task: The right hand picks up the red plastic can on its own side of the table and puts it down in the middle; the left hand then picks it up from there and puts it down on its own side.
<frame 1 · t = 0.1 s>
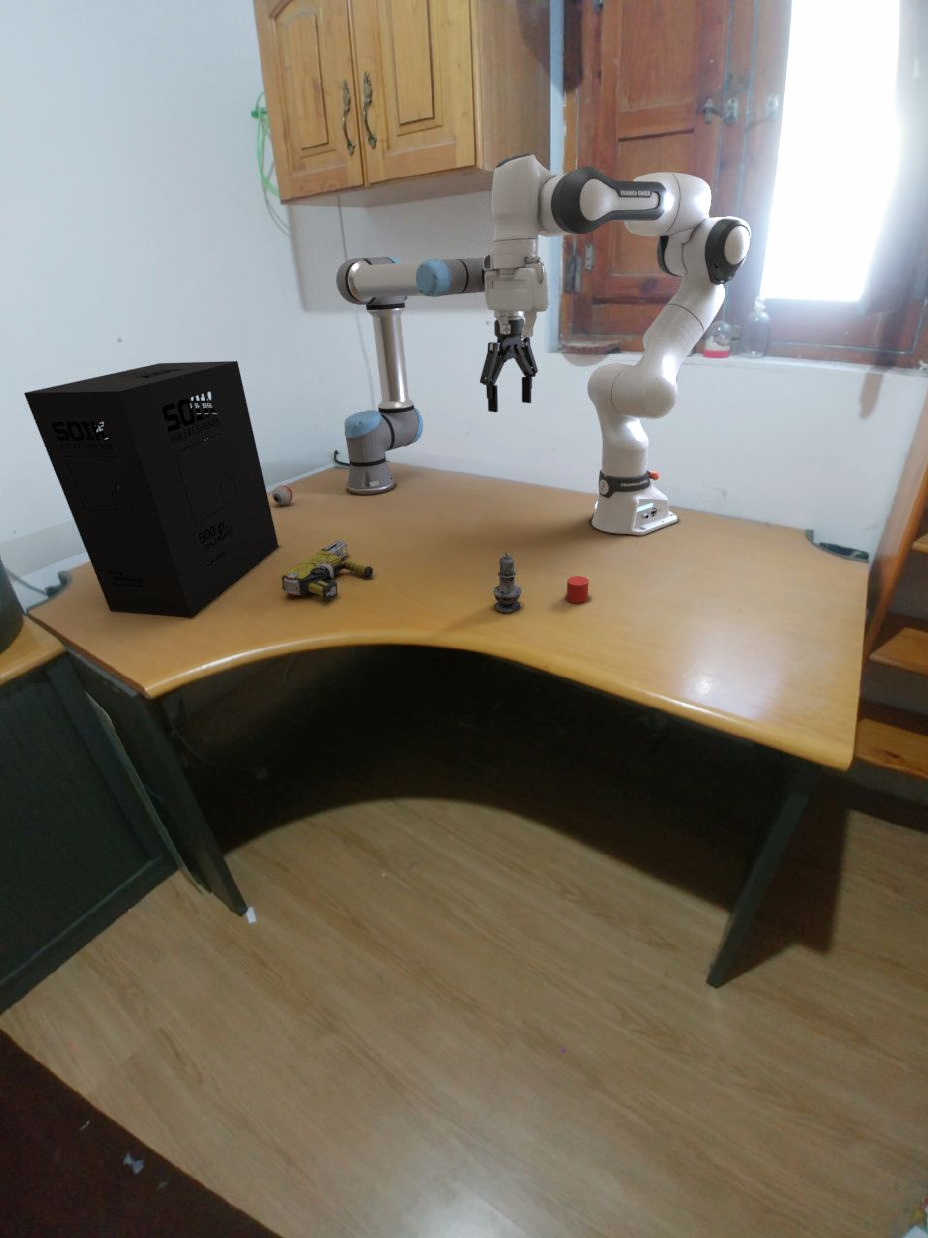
left hand: (510, 407, 161), 28 cm above the table, tool pointing down, fingers open, 13 cm apart
right hand: (516, 335, 125), 48 cm above the table, tool pointing down, fingers open, 8 cm apart
eyeball: (284, 505, 187), on the table
dark grey tapered piece: (507, 607, 124), on the table
cardboard box: (202, 576, 144), on the table
can: (577, 598, 125), on the table
toy gun: (338, 579, 139), on the table
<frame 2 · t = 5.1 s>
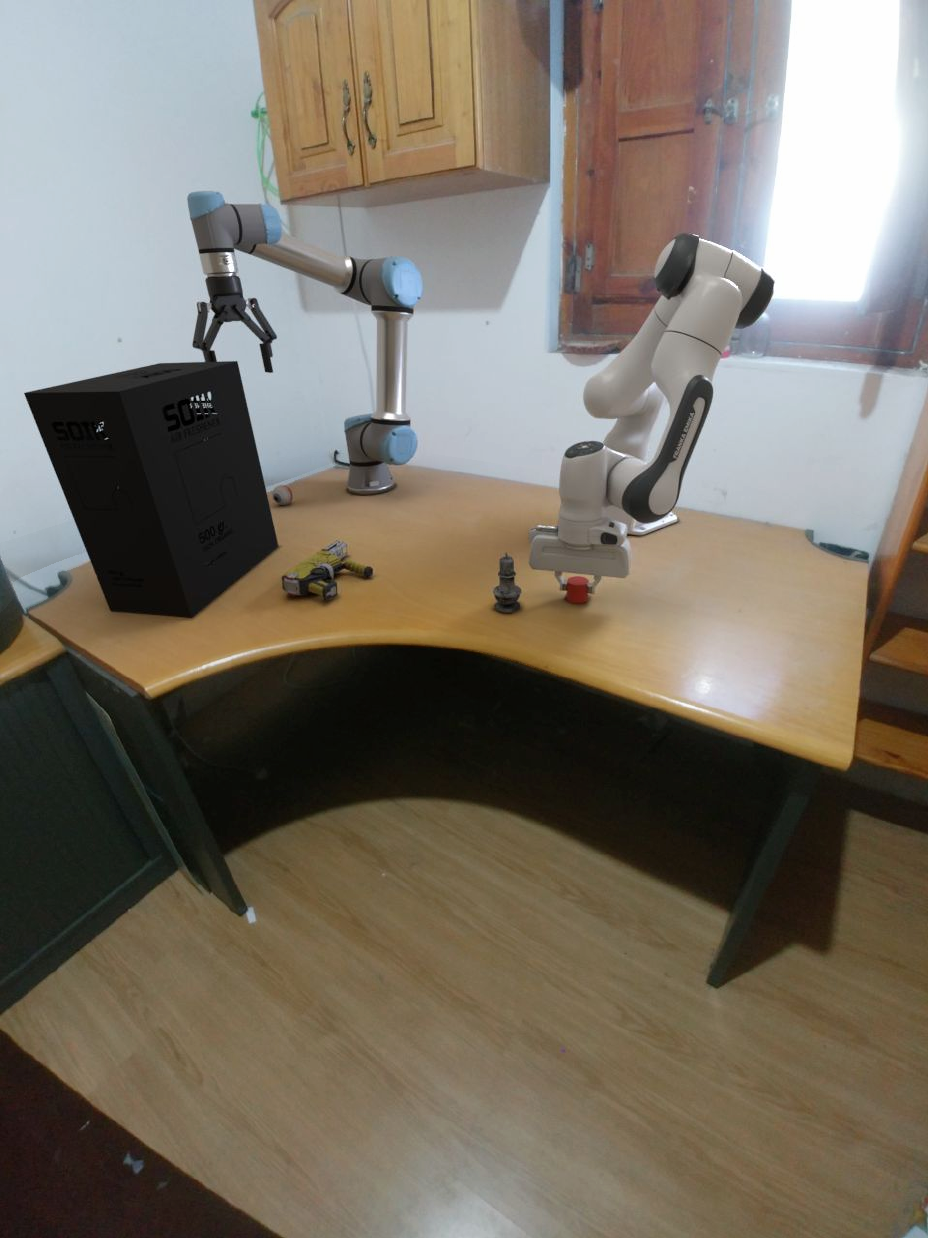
left hand: (244, 376, 146), 41 cm above the table, tool pointing down, fingers open, 13 cm apart
right hand: (577, 591, 124), 2 cm above the table, tool pointing down, fingers closed on can, 4 cm apart
can: (577, 598, 125), on the table, touching right hand
everything else where it was.
when the right hand's fingers open (3 cm above the table, at t = 14.7 s): can moves 2 cm, point 3 cm above the table.
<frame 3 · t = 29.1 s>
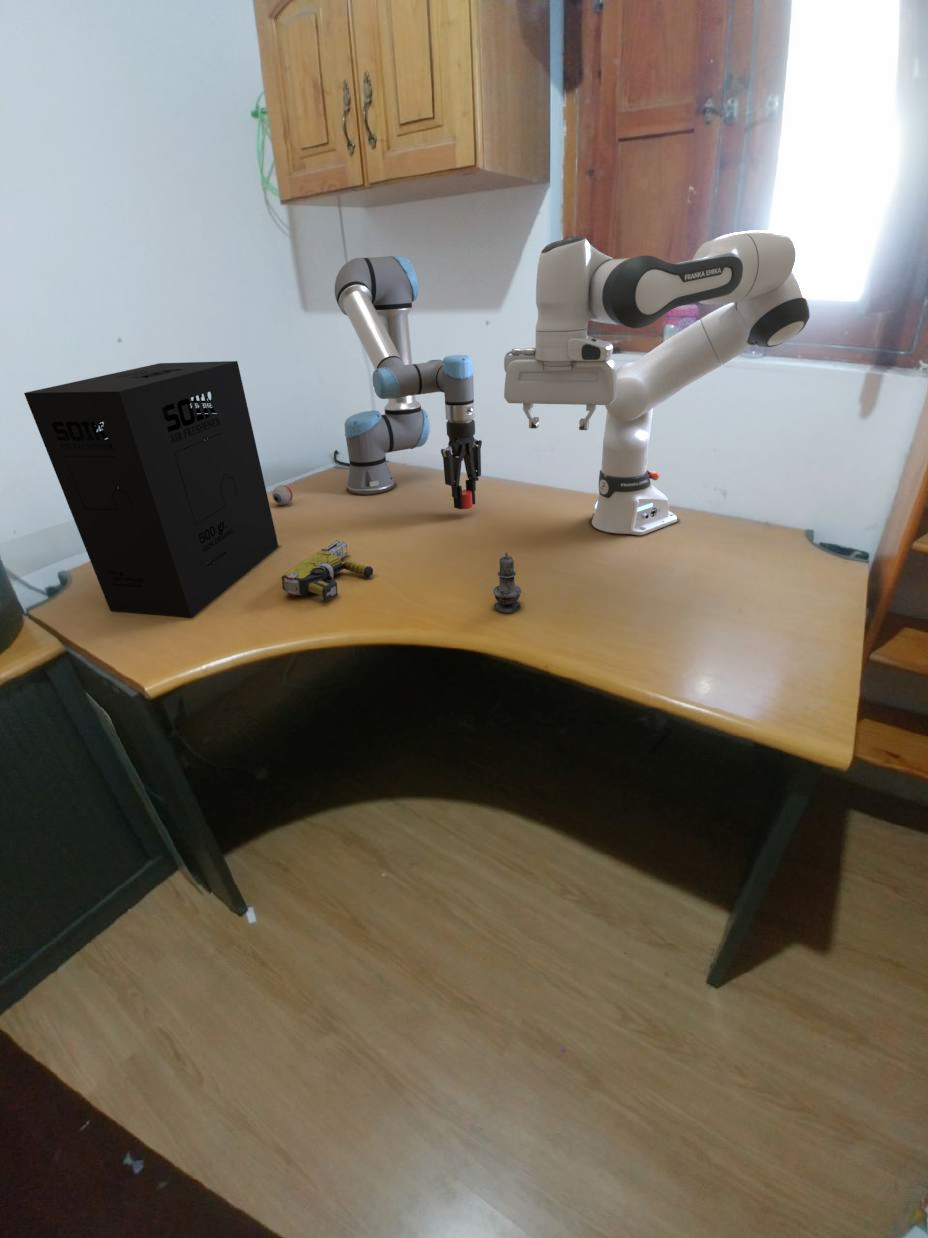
left hand: (464, 505, 169), 3 cm above the table, tool pointing down, fingers closed on can, 4 cm apart
right hand: (558, 428, 112), 34 cm above the table, tool pointing down, fingers open, 8 cm apart
can: (464, 506, 169), point 3 cm above the table, touching left hand
everything else where it was.
when the left hand's fingers open (0 cm above the table, at t = 33.2 s): can stays where it is, on the table.
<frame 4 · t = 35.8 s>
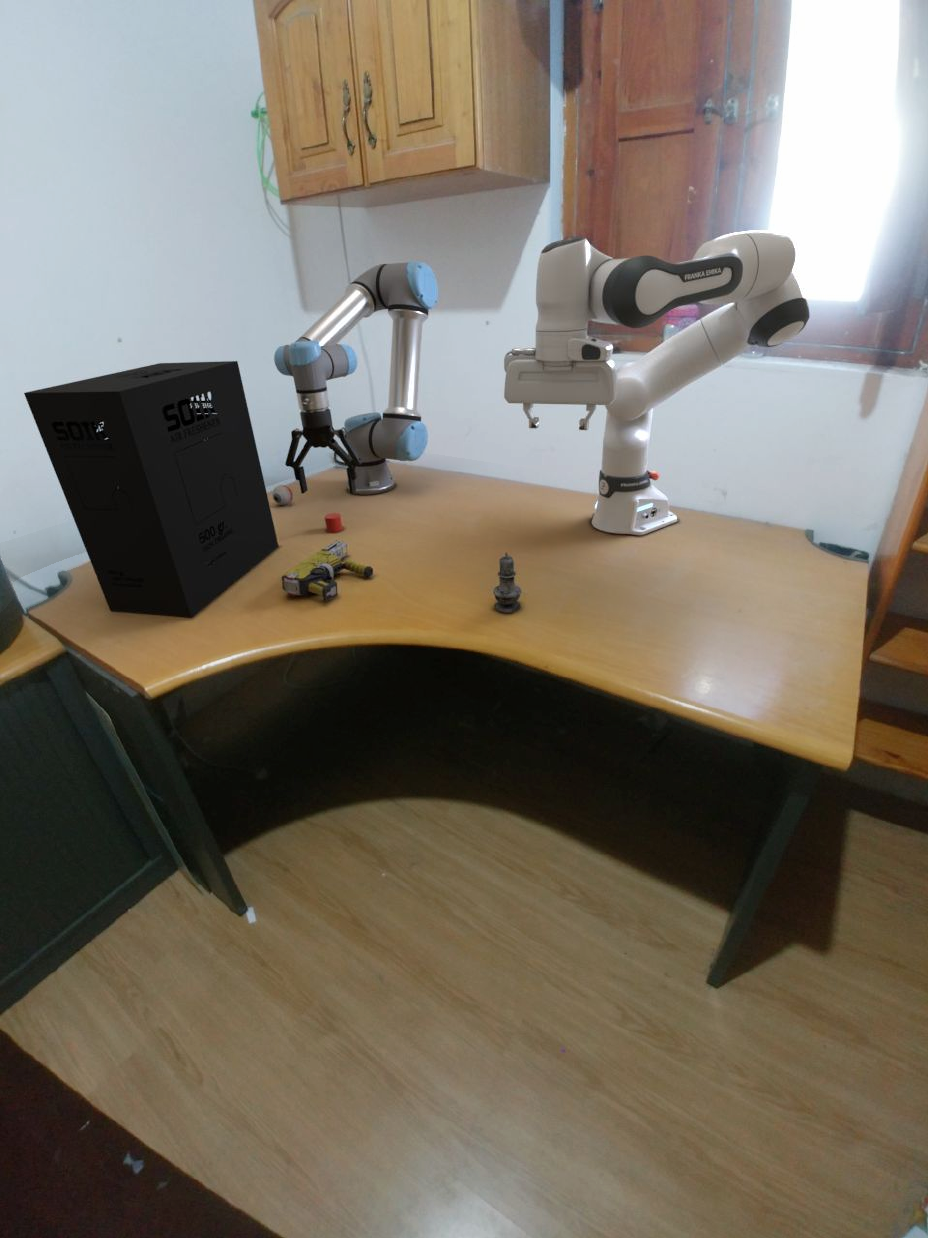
left hand: (328, 491, 161), 11 cm above the table, tool pointing down, fingers open, 13 cm apart
right hand: (558, 428, 112), 34 cm above the table, tool pointing down, fingers open, 8 cm apart
can: (334, 529, 167), on the table
everything else where it was.
at the end: can inside the target area (0.1 cm from its centre), on the table; can tilted 0°; the two hands never held the can at the same time; the left hand is holding nothing; the right hand is holding nothing; can at rest at the end (0.0 cm/s) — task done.
